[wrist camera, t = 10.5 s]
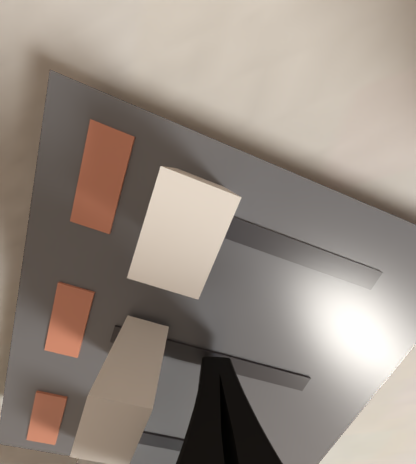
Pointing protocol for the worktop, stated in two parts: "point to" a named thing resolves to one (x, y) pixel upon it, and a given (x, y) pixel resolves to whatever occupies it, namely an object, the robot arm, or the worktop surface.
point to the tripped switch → (122, 395)
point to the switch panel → (228, 294)
